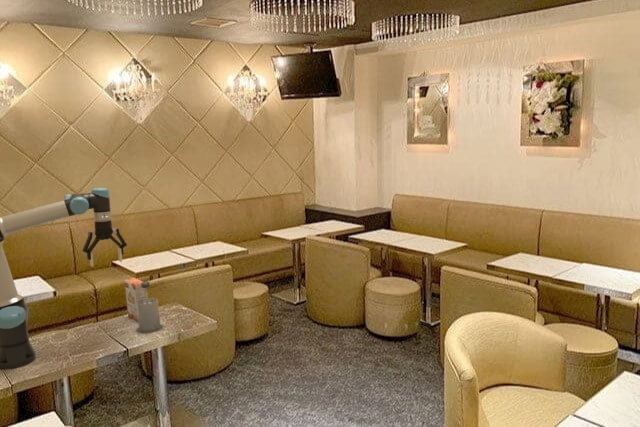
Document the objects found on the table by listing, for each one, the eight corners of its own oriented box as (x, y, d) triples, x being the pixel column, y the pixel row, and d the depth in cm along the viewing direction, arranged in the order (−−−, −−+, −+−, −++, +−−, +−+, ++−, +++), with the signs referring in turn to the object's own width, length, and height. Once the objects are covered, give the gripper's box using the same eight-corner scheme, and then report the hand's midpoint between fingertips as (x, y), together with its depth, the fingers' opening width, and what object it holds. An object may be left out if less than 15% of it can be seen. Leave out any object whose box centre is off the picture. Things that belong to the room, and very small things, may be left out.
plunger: (142, 309, 256) (140, 285, 254) (138, 305, 262) (136, 282, 260) (156, 306, 260) (154, 282, 258) (152, 302, 266) (150, 279, 264)
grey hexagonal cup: (142, 333, 256) (139, 306, 254) (136, 327, 264) (134, 301, 262) (162, 328, 261) (160, 301, 259) (156, 323, 269) (153, 296, 267)
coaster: (140, 337, 254) (140, 335, 254) (132, 329, 265) (132, 327, 264) (166, 330, 261) (166, 329, 261) (158, 323, 272) (158, 321, 272)
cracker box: (127, 317, 282) (123, 279, 279) (138, 314, 286) (134, 277, 283) (138, 323, 272) (134, 284, 269) (149, 320, 276) (145, 282, 273)
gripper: (77, 224, 242) (81, 269, 245) (131, 218, 258) (134, 260, 261) (72, 222, 247) (76, 266, 250) (125, 216, 263) (128, 258, 267)
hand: (106, 263), depth 256 cm, fingers open, 13 cm apart
